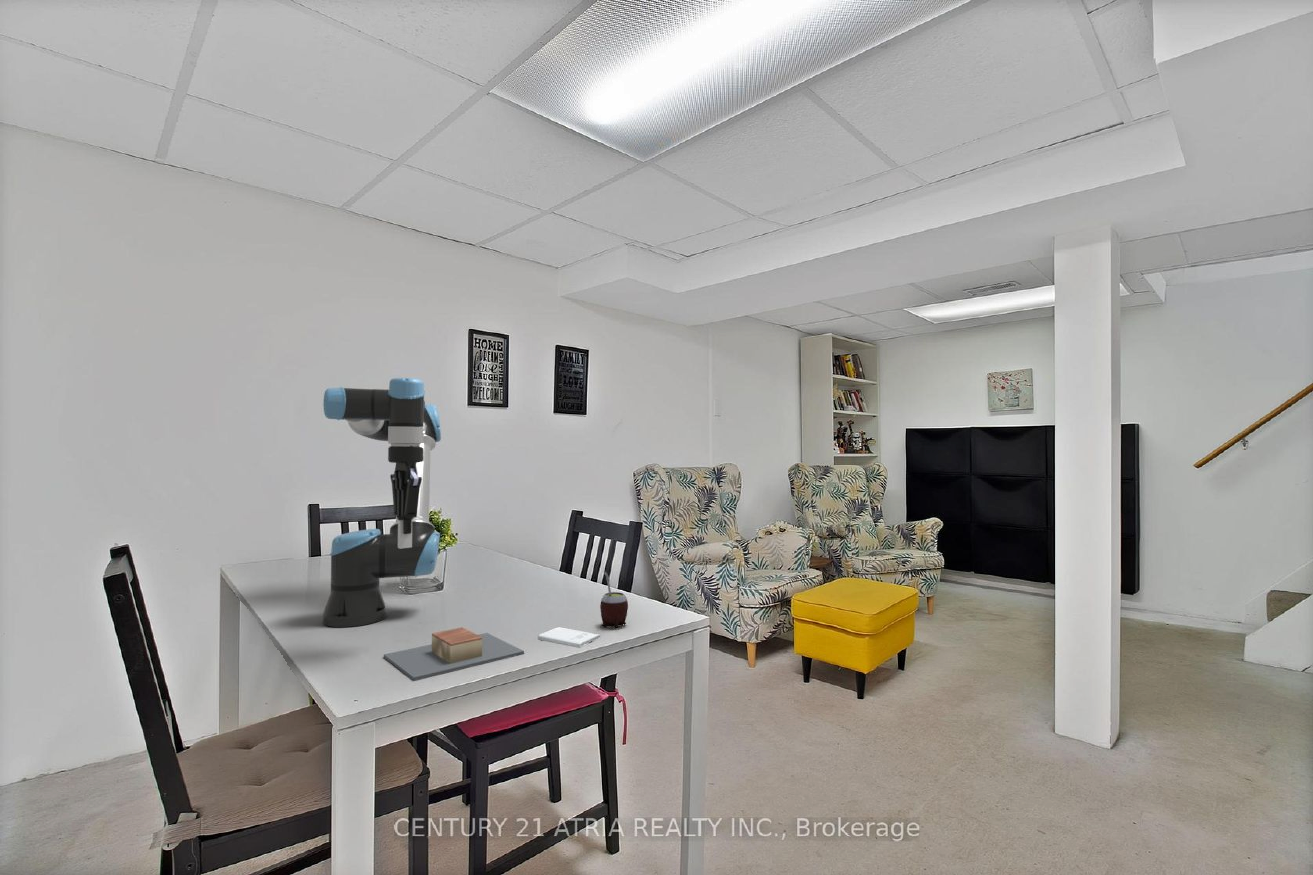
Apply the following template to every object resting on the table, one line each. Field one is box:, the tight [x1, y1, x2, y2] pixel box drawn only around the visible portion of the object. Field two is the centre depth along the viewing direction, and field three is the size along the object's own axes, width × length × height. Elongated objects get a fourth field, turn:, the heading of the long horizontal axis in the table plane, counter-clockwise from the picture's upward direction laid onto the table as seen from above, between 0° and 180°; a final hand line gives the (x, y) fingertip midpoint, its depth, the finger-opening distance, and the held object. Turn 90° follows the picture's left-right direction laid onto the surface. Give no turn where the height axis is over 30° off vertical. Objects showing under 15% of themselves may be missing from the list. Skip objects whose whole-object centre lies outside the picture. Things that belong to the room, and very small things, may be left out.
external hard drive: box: [537, 626, 601, 648], centre depth 145 cm, size 2×8×12 cm
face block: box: [431, 627, 482, 664], centre depth 132 cm, size 4×7×10 cm
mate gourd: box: [599, 570, 629, 629], centre depth 156 cm, size 8×8×15 cm
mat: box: [383, 632, 525, 681], centre depth 133 cm, size 18×24×1 cm
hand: (404, 547), depth 140 cm, fingers closed
